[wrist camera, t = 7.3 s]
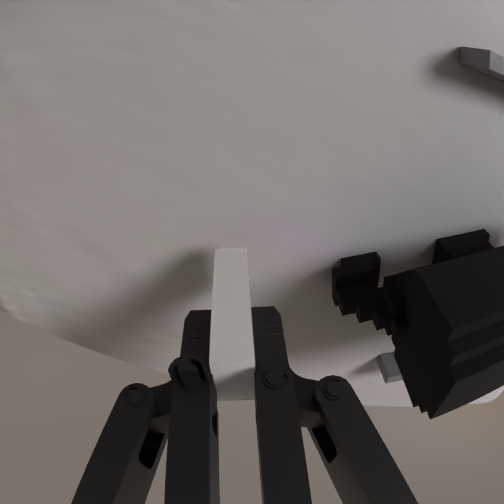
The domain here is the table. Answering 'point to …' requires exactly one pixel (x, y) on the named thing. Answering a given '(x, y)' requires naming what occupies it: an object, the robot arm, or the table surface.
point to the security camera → (436, 318)
